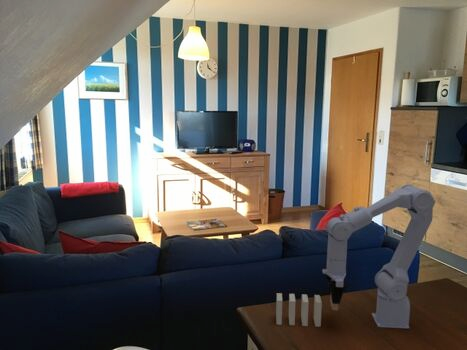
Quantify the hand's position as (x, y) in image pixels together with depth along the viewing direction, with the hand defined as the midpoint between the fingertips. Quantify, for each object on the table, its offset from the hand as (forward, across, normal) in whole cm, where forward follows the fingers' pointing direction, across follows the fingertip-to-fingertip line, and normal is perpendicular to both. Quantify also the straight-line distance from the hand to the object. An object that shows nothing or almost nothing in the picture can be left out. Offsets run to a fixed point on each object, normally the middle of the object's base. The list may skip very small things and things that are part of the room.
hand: (334, 298), depth 125 cm
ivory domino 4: (+8, 0, -5) cm, 10 cm away
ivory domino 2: (+8, 0, -13) cm, 15 cm away
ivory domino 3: (+8, 0, -9) cm, 12 cm away
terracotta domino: (+2, 0, 0) cm, 2 cm away
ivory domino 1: (+8, 0, -17) cm, 19 cm away
